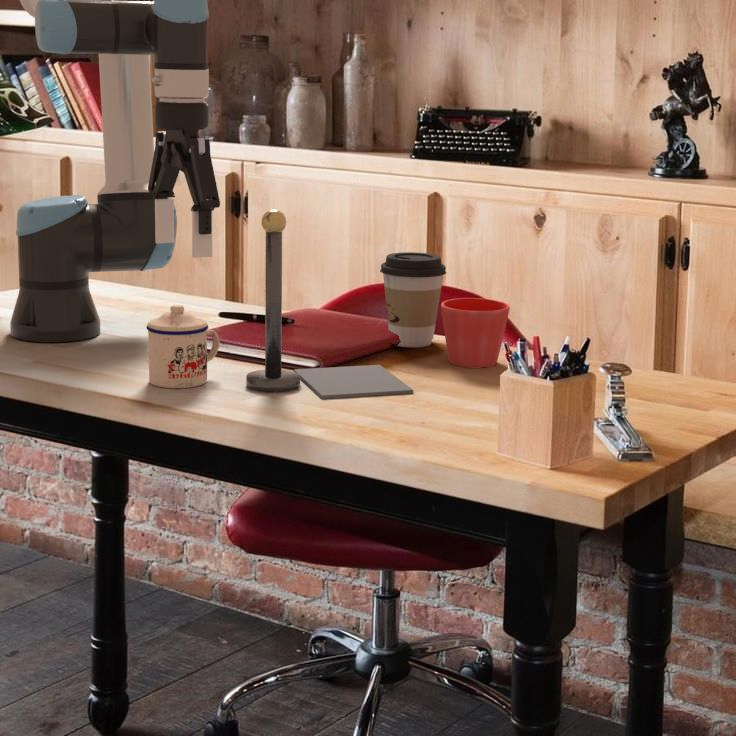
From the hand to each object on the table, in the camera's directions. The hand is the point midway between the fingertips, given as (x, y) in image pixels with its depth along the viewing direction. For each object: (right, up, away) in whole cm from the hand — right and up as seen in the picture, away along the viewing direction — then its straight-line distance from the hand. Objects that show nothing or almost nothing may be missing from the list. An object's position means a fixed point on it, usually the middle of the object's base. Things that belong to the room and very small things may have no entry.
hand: (183, 249), depth 193 cm
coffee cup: (+34, -13, +36) cm, 52 cm away
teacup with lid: (-1, -19, +8) cm, 21 cm away
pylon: (+13, -20, +6) cm, 24 cm away
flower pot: (+44, -16, +23) cm, 52 cm away
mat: (+24, -19, +9) cm, 32 cm away
